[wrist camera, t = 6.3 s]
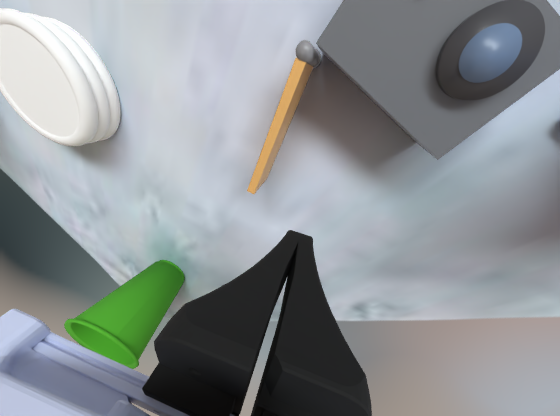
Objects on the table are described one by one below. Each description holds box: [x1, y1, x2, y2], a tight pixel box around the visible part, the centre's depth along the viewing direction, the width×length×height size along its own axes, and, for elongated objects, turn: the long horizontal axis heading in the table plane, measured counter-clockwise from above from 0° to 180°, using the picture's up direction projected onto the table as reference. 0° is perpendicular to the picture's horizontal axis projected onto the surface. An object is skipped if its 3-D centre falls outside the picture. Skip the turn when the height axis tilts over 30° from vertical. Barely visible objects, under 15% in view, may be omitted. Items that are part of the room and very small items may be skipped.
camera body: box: [313, 0, 560, 160], centre depth 11 cm, size 10×7×5 cm
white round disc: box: [0, 8, 121, 146], centre depth 19 cm, size 10×10×4 cm
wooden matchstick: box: [247, 40, 319, 194], centre depth 15 cm, size 10×1×3 cm, turn 157°
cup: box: [64, 260, 185, 369], centre depth 27 cm, size 9×9×11 cm
